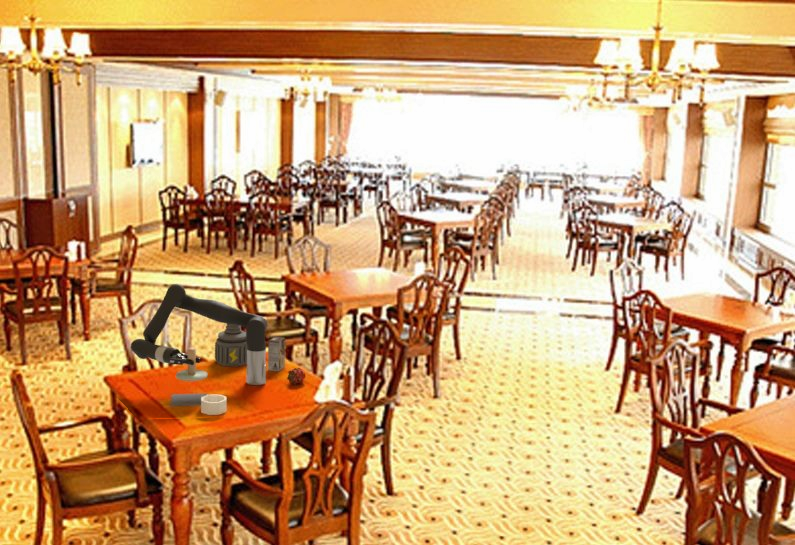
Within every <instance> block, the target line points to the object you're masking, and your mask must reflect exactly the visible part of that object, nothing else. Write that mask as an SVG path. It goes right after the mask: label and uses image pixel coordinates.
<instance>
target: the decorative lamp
mask: <svg viewBox="0 0 795 545" xmlns="http://www.w3.org/2000/svg"><path fill="white" fill-rule="evenodd" d="M233 308H236V309H238V310H240V308H238V307H235V306H233ZM214 360H215V362H216V364H217V365H219V366H223V367H231V368H232V367H233V368H234V367H237V368H238V367H243V366H247V344H246V331H244V330H242V326H240V325H236V324H228V323H226V326H225V329H224V330H223V331H220V332H219V333H218V335H217V338H216V341H215V343H214Z"/></svg>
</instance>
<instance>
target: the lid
mask: <svg viewBox="0 0 795 545" xmlns="http://www.w3.org/2000/svg"><path fill="white" fill-rule="evenodd" d="M187 354H188V359H191V360H194V365H190V364H187V369H184V370H179V371H178V372H176V374H175V378H176V379H177V380H180V381H182V382H183V381H184V382H197V381H202V380H205V379H207V377H208V372H206V370H202V369H197V362H196V357H197V349H196V348H195V347H188V348H187Z"/></svg>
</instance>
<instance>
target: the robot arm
mask: <svg viewBox="0 0 795 545" xmlns="http://www.w3.org/2000/svg"><path fill="white" fill-rule="evenodd" d="M233 307H234V306H233ZM233 307H232V306H231V305H227V304H225V303H222V302H220V301H217V300H213V299H207V298H206V299H205V298H203V299H202V298H197V297H195V296H191V295H190V294H187V293H186V290H185V287H184V286H182V285H181V284H179V283H176V284H172V285H170V286H169V287H168V288H167V290H166V293H165V294H164V297H163V299H162V301H161V303H160V305H159V307H158V309H157V310H156V312H155V313H154V315H153V316H152V319H151V320H150V321H149V322H148V324H147V325H146V327H145V328H144V330H143V331H142V336H143V338H144V339H143V338H137V339H134V340H132V341H131V343H130V350H131V352H133V354H135V355H136V356H137V357H138V358H139V359H141V360H145V359H147V358H149V359H151V360H153V361H154V360H155V361H157V362H158V361H159V362H160V363H164V364H168V365H172V366H173V365H178V366H179V365H180V366H183V365H188V364H190V365H194V360H191V359H188V353H184V352H181V351H180V350H179V349H178V348H176V347H171V346H166V345H159V344H156V343H157V342H156V341H157V339H158V337H159V336H160V334H161V333H162V331H163V330H164V328H165V326H166V324H167V321H168V319H169V318H170V315H171V313H172V311H173V310H174V309H176V308H177V309H181V310H185V311H189V312H192V313H194V314H197V315H200V316H202V317H204V318H207V319H210V320H212V321H215V322H219V323H222V324H227V323H228V324H236V325H240V326H241V328H242V327H243V328H245V332H246V344H247V364H246V378H245V379H246V380H245V381H246V382H245V383H246V384H247V385H251V386H260V385H266V377H267V374H266V373H267V364H266V362H267V361H266V359H267V358H266V357H267V356H266V354H267V344H266V330H267V329H268V321H267V320H266V318H264V317H263V316H262V315H258V314H253V313H249V312H246V311H243V310H241V309H239V308H238V309H239V310H238V309H236V308H237V307H236V308H233ZM197 363H198V364H199V363H201V358H200V357H197V356H196V364H197Z"/></svg>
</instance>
